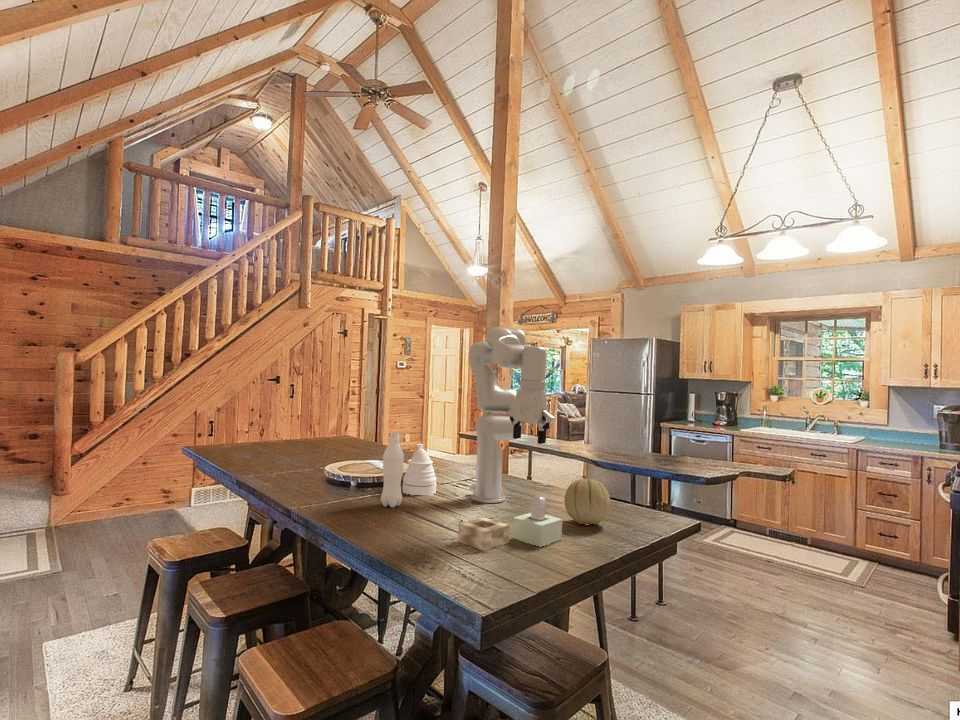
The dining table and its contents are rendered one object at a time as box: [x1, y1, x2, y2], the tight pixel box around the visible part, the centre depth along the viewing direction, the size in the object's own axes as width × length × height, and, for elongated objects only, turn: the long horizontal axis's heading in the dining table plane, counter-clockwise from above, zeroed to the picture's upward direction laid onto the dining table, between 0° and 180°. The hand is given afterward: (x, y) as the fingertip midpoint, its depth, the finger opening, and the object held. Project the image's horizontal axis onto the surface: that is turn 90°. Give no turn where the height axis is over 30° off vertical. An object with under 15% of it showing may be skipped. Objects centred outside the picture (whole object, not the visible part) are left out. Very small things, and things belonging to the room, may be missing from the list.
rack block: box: [512, 512, 563, 548], centre depth 147 cm, size 10×10×6 cm
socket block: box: [457, 516, 511, 552], centre depth 143 cm, size 10×10×5 cm
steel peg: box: [530, 495, 547, 522], centre depth 148 cm, size 4×4×12 cm
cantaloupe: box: [563, 475, 611, 525], centre depth 165 cm, size 15×15×15 cm
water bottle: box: [380, 431, 405, 508], centre depth 177 cm, size 7×7×25 cm
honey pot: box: [402, 443, 437, 496], centre depth 199 cm, size 13×13×18 cm
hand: (528, 440), depth 160 cm, fingers open, 9 cm apart
